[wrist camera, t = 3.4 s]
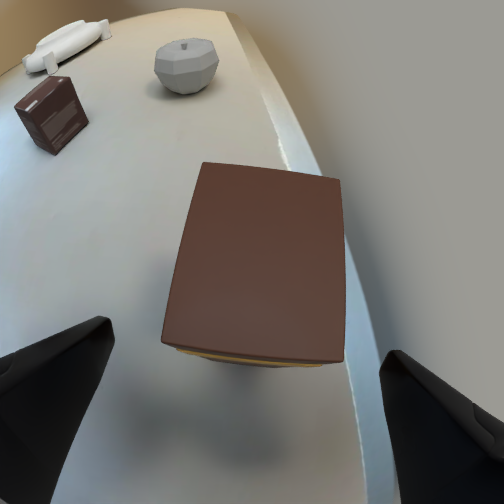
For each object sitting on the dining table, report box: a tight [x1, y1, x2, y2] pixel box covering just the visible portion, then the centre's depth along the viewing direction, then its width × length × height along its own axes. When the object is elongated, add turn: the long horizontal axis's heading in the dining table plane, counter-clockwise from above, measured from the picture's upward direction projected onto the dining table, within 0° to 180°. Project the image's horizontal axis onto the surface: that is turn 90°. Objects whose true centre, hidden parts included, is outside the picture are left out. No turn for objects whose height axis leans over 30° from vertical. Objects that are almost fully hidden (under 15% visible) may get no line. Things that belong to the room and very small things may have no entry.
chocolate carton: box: [161, 162, 346, 368], centre depth 12 cm, size 5×4×12 cm
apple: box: [154, 38, 219, 94], centre depth 25 cm, size 8×8×7 cm
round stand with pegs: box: [22, 19, 111, 75], centre depth 35 cm, size 24×24×7 cm
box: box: [14, 76, 89, 155], centre depth 22 cm, size 6×6×7 cm
